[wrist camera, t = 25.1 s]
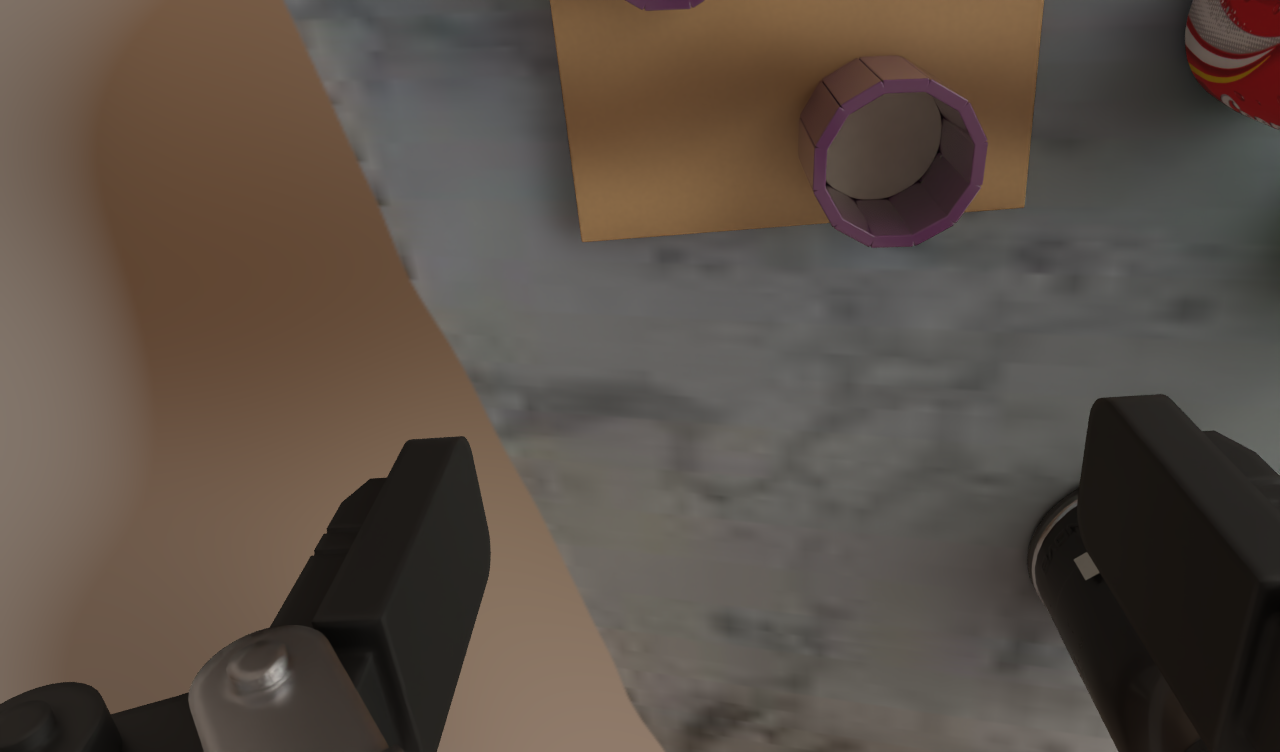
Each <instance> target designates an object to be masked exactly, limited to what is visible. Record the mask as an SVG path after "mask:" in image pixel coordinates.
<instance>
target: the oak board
mask: <svg viewBox="0 0 1280 752" xmlns="http://www.w3.org/2000/svg"><path fill="white" fill-rule="evenodd" d="M550 5H551V13H552V20H553V28H554V35H555V43H556V50H557V58H558V66H559V73H560V81H561V88H562V96H563V103H564V111H565V118H566V126H567V134H568V141H569V149H570V156H571V164H572V171H573V179H574V187H575V194H576V202H577V209H578V217H579V224H580V232H581V239H582V242H591V241H604V240H617V239H630V238H642V237H655V236H668V235H681V234H694V233H706V232H719V231H732V230H745V229H758V228H770V227H783V226H796V225H809V224H822V223H830V222H829V220H828V218H827V216H826V215H825V213H824V211H823V209H822V207H821V206H820V204H819V202H818V200H817V199H816V197H815V195H814V193H813V191H812V188H811V186H810V184H809V181H808V179H807V177H806V174H805V172H804V169H803V167H802V165H801V162H800V160H799V156H798V135H799V118H800V114H801V112H802V111H803V109H804V107H805V106H806V104H807V102H808V101H809V99H810V97H811V96H812V94H813V92H814V90H815V89H816V87H817V85H818V84H819V82H820V81H822V79H823V78H824V77H826V76H828V75H829V74H831V73H833V72H834V71H836V70H837V69H839V68H841V67H842V66H844V65H846V64H847V63H849V62H851V61H852V60H854V59H855V58H858V59H859V57H868V56H893V55H898V56H902V57H904V58H906V59H907V60H909V61H911V62H913V63H914V64H916V65H918V66H919V67H921V68H923V69H924V70H926V71H928V72H930V73H931V74H933V75H934V76H936V77H937V78H938V79H940V80H941V81H943V82H944V83H945V84H947V85H948V86H949V87H951V88H952V89H954V90H955V91H956V92H958V93H959V94H960V95H962V96H963V97H964V98H966V99H967V100H968V101H969V102H970V103H971V105H972V107H973V109H974V112H975V114H976V116H977V118H978V120H979V122H980V124H981V127H982V129H983V131H984V133H985V135H986V137H987V142H988V147H987V155H986V163H985V170H984V178H983V185H981V189H980V190H979V192H978V193H977V194H976V196H975V197H974V199H973V200H972V201H971V203H970V204H969V206H968V207H967V208H966V210H965V211H964V212H975V211H988V210H1001V209H1013V208H1024V206H1025V195H1026V185H1027V174H1028V164H1029V153H1030V143H1031V132H1032V122H1033V111H1034V101H1035V90H1036V80H1037V69H1038V59H1039V48H1040V38H1041V27H1042V17H1043V6H1044V0H705V1H703V2H702V3H700V4H699V5H697V6H696V7H694V8H692V7H691V9H682V10H658V11H645V10H644V9H643V10H641V9H639V8H637V7H635V6H634V5H632V4H630V3H628V2H627V1H625V0H550Z"/></svg>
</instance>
